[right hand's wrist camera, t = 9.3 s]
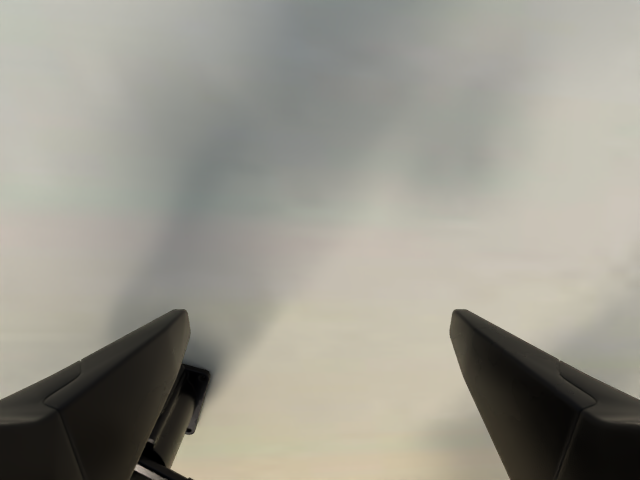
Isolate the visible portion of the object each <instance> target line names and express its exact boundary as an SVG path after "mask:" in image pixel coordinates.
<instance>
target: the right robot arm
mask: <svg viewBox="0 0 640 480" xmlns="http://www.w3.org/2000/svg"><path fill="white" fill-rule="evenodd" d="M189 338H190V324H189V318H188V313H187V311H186V310H184V309H175V310H172V311H170V312H168V313H166V314H164V315H163V316H161V317H159V318H157V319H155V320H153V321H151V322H150V323H148V324H146V325H144V326H142V327H140V328H139V329H137V330H135V331H133V332H131V333H129V334H127V335H126V336H124V337H122V338H120V339H118V340H116V341H115V342H113V343H111V344H109V345H107V346H105V347H104V348H102V349H100V350H98V351H96V352H94V353H92V354H91V355H89V356H87V357H85V358H83V359H82V360H81V361H78V362H76V363H74V364H72V365H70V366H68V367H66V368H65V369H63V370H61V371H59V372H57V373H55V374H53V375H51V376H49V377H47V378H45V379H43V380H41V381H39V382H37V383H35V384H33V385H31V386H29V387H27V388H25V389H22V390H20V391H18V392H16V393H14V394H12V395H10V396H8V397H6V398H4V399H1V400H0V480H193V479H191V478H186V477H184V476H182V475H180V474H178V473H177V472H175V471H173V470H171V469H170V468H171V466H172V464H173V461H174V459H175V456H176V454H177V451H178V449H179V447H180V444H181V442H182V439H183V437H184V434H188V435H190V434H193V433H194V432H195V429H196V426H197V423H198V419H199V415H200V412H201V408H202V405H203V401H204V398H205V394H206V391H207V387H208V383H209V380H210V372H208V371H207V370H204V369H200V368H196V367H193V366H189V365H185V364H181V363H182V360H183V357H184V354H185V350H186V347H187V344H188V341H189ZM450 338H451V341H452V344H453V347H454V350H455V354H456V357H457V360H458V363H459V366H460V369H461V372H462V375H463V377H464V380H465V382H466V384H467V386H468V388H469V391H470V393H471V395H472V397H473V399H474V402H475V404H476V406H477V408H478V410H479V412H480V415H481V417H482V419H483V421H484V423H485V425H486V428H487V430H488V432H489V434H490V436H491V439H492V441H493V443H494V445H495V447H496V449H497V452H498V454H499V456H500V458H501V460H502V462H503V465H504V467H505V469H506V471H507V473H508V476H509V478H510V480H640V400H639V399H636V398H634V397H632V396H630V395H628V394H626V393H624V392H622V391H620V390H618V389H615V388H613V387H611V386H609V385H607V384H605V383H603V382H601V381H599V380H597V379H595V378H593V377H591V376H589V375H587V374H585V373H583V372H581V371H579V370H577V369H575V368H574V367H572V366H570V365H568V364H566V363H564V362H562V361H559V360H558V359H557V358H555V357H553V356H551V355H549V354H548V353H546V352H544V351H542V350H540V349H538V348H537V347H535V346H533V345H531V344H529V343H527V342H525V341H524V340H522V339H520V338H518V337H516V336H514V335H512V334H511V333H509V332H507V331H505V330H503V329H501V328H500V327H498V326H496V325H494V324H492V323H490V322H489V321H487V320H485V319H483V318H481V317H479V316H477V315H476V314H474V313H472V312H470V311H468V310H465V309H456V310H454V311H453V313H452V318H451V324H450ZM202 376H204V377H202Z"/></svg>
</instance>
